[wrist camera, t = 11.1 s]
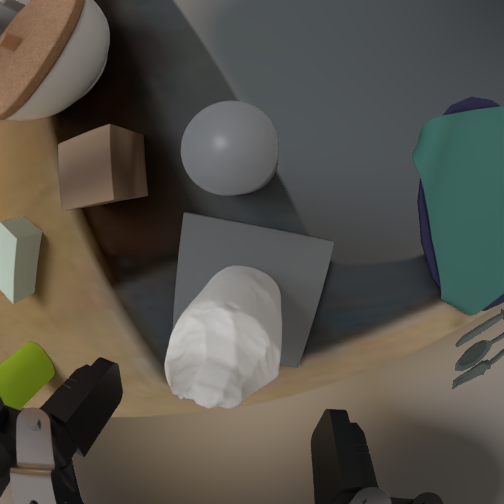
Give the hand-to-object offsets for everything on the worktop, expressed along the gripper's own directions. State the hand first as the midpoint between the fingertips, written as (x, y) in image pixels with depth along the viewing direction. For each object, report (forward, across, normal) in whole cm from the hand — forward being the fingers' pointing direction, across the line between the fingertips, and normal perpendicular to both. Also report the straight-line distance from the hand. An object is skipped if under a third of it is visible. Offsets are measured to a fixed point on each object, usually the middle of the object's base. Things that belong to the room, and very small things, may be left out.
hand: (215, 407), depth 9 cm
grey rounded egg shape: (+13, +2, -9) cm, 16 cm away
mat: (+12, 0, +1) cm, 12 cm away
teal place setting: (+13, -24, -7) cm, 28 cm away
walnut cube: (+13, +12, -8) cm, 19 cm away
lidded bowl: (+13, +20, -18) cm, 30 cm away
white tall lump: (+12, 0, +1) cm, 12 cm away
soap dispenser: (+12, +26, +18) cm, 34 cm away
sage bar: (+13, +25, +2) cm, 28 cm away
